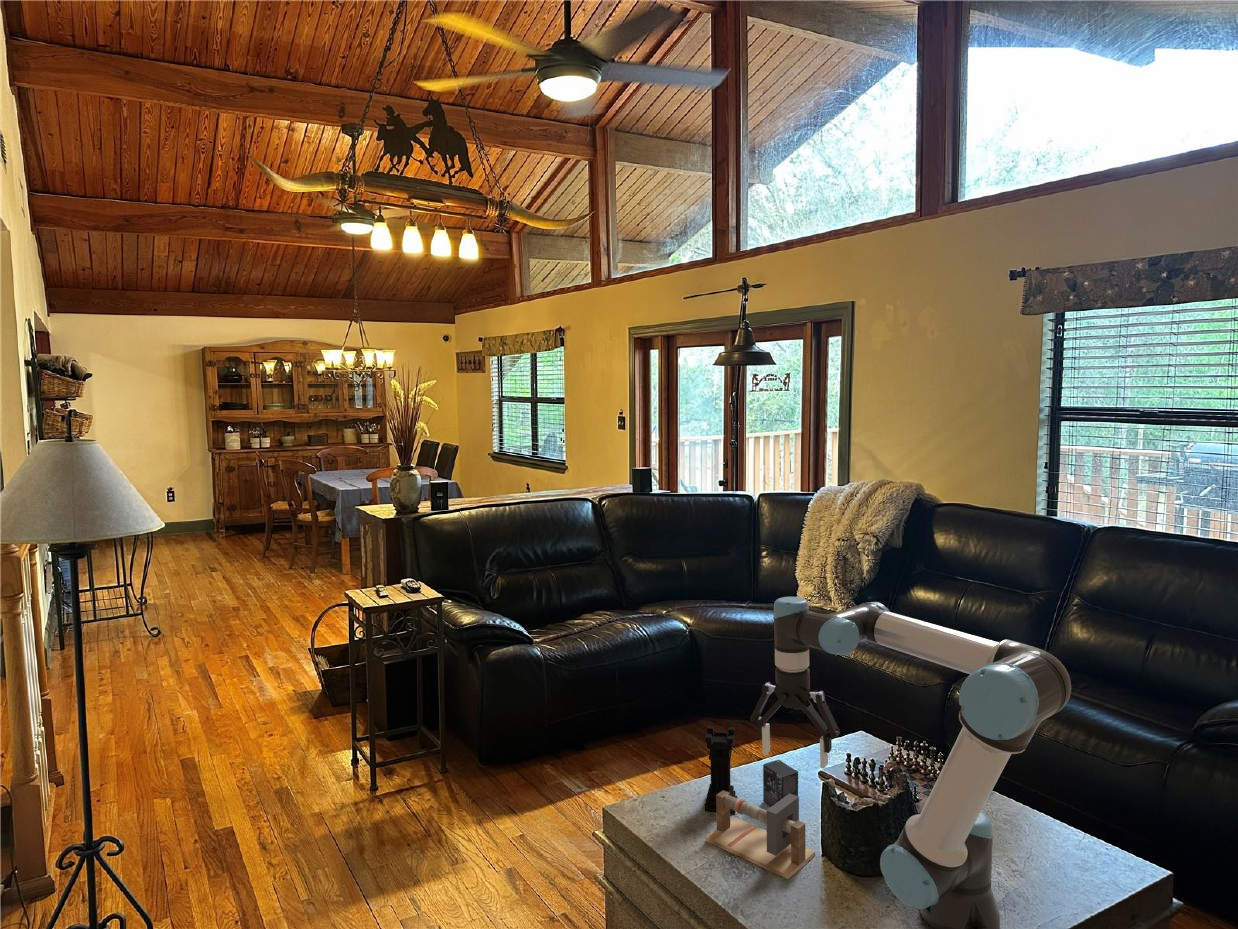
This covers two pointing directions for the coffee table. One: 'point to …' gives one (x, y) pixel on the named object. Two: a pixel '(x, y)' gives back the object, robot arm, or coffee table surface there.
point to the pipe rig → (757, 837)
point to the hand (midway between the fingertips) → (794, 759)
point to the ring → (781, 823)
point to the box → (778, 781)
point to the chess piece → (719, 765)
